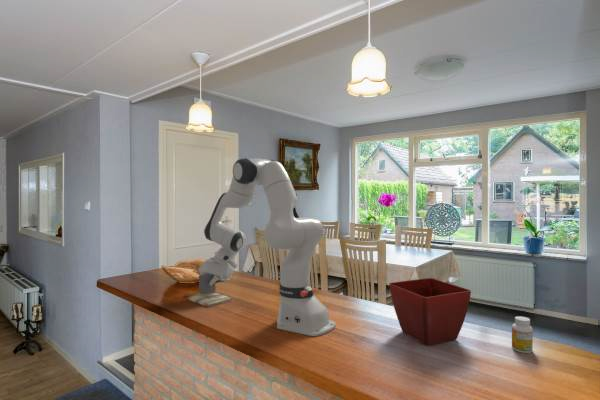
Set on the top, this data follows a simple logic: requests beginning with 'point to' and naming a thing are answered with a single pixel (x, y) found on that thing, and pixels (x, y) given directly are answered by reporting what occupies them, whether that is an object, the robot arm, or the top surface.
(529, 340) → the supplement bottle
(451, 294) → the plant pot
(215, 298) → the board
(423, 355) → the top surface
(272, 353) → the top surface
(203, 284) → the block
